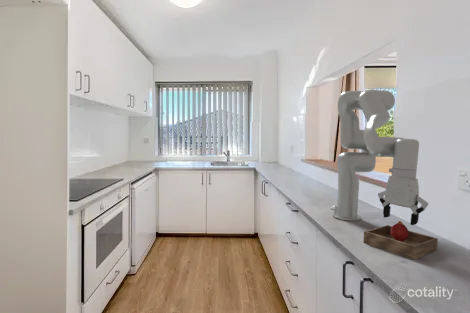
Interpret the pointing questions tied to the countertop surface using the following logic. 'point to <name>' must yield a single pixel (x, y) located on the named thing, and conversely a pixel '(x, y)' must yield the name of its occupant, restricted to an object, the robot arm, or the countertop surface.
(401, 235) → the onion
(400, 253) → the holder tray
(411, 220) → the robot arm
